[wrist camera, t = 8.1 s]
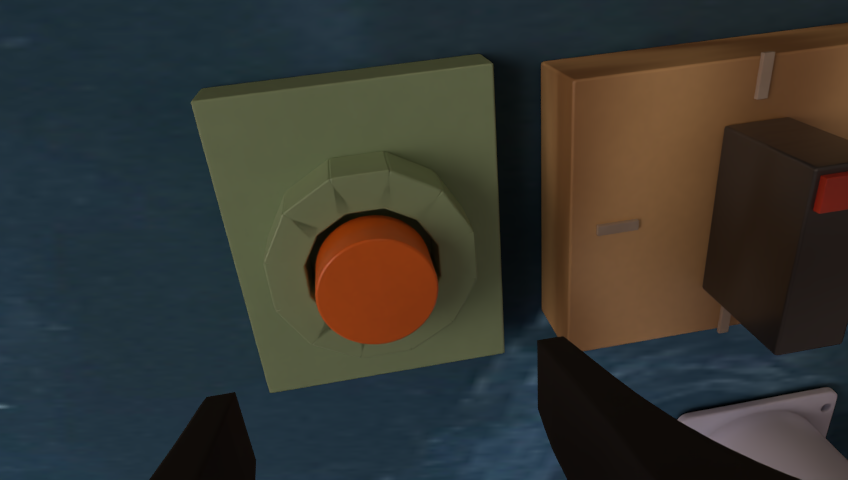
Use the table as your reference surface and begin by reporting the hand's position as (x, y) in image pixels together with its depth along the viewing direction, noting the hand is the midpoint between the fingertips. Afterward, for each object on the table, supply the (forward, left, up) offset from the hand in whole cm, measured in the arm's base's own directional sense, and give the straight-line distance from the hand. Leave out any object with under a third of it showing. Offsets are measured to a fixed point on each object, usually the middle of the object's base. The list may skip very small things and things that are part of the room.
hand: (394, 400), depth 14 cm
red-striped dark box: (0, -13, -6) cm, 14 cm away
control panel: (0, -13, -9) cm, 16 cm away
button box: (0, 0, -9) cm, 9 cm away
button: (0, 0, -6) cm, 6 cm away
